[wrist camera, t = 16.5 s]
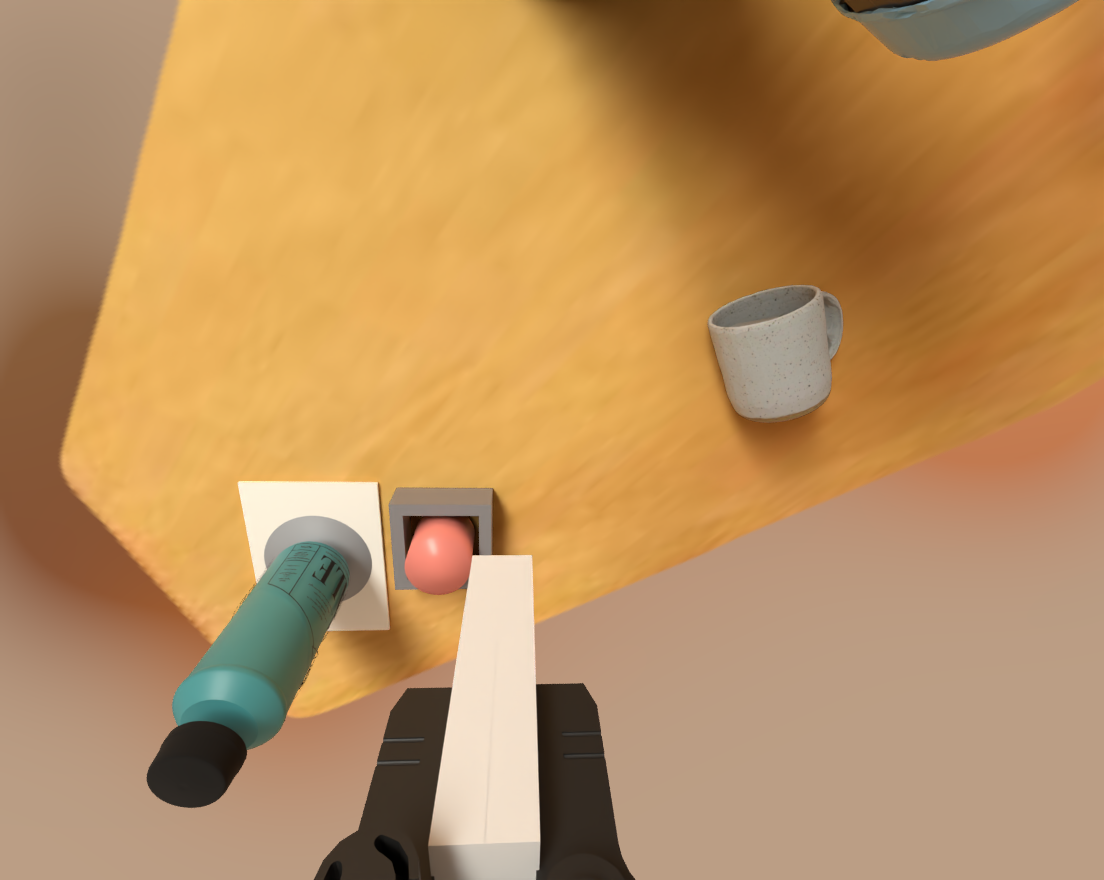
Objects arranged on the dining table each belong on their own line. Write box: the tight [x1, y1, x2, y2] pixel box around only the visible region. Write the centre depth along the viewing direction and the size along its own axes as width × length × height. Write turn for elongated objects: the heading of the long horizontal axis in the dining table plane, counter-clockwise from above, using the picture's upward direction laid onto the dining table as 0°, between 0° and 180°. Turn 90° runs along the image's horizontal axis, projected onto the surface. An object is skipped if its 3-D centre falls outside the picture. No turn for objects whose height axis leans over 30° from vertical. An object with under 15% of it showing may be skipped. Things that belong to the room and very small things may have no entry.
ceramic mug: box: [708, 285, 843, 423], centre depth 37 cm, size 11×8×8 cm
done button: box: [405, 516, 475, 595], centre depth 42 cm, size 5×5×5 cm
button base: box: [389, 488, 493, 590], centre depth 43 cm, size 8×8×3 cm
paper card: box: [238, 481, 390, 631], centre depth 45 cm, size 15×11×1 cm
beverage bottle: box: [147, 541, 350, 808], centre depth 35 cm, size 6×7×20 cm
